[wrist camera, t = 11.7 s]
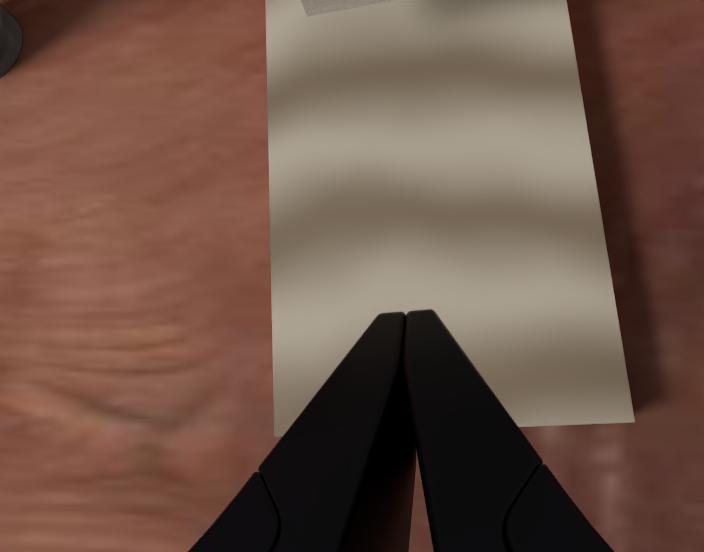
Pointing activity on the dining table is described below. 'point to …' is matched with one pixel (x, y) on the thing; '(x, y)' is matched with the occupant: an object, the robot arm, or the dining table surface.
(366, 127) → the l-shaped wooden stand
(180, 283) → the dining table surface
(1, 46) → the beverage cup
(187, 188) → the dining table surface
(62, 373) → the dining table surface
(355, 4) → the grey cube
